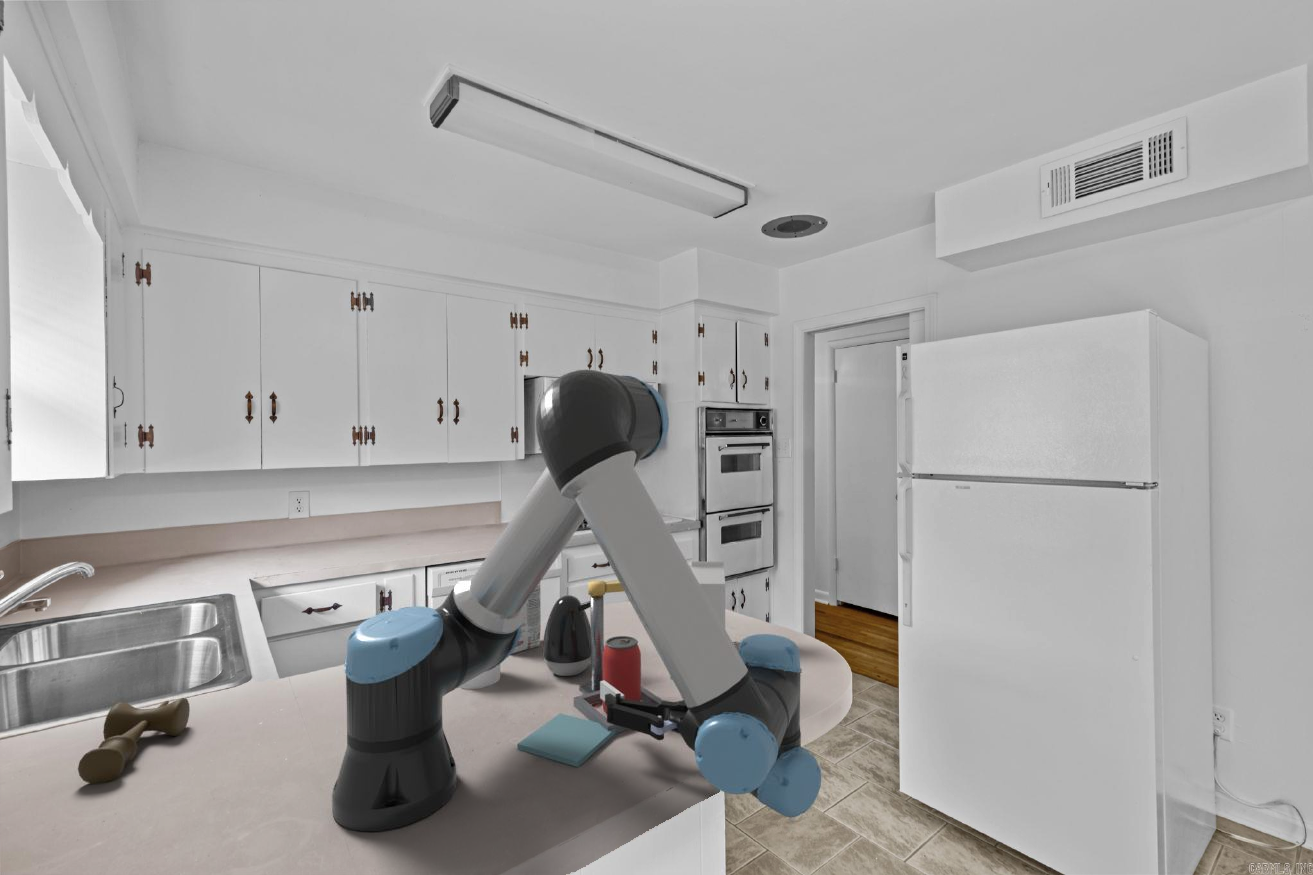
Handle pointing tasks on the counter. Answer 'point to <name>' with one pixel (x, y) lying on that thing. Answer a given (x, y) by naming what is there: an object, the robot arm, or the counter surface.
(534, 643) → the juice carton
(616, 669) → the beer can
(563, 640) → the pump dispenser
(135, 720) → the kendama
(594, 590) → the clip arm
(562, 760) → the mat
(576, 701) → the collar
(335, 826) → the counter surface
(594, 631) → the post
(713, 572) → the milk carton
